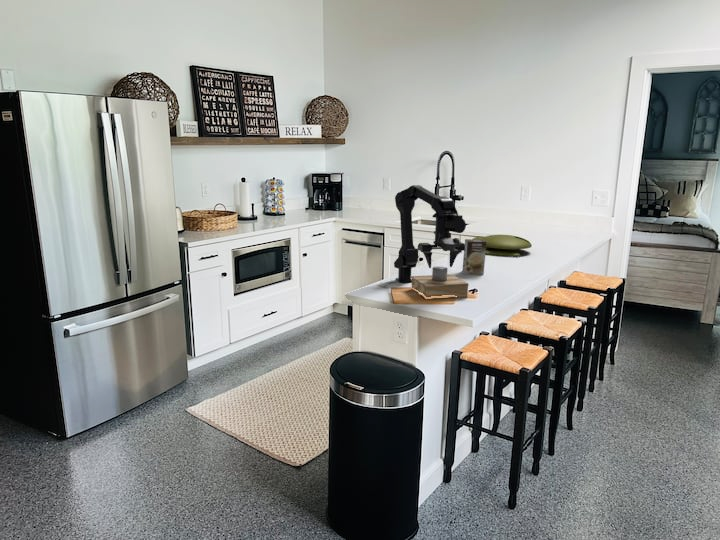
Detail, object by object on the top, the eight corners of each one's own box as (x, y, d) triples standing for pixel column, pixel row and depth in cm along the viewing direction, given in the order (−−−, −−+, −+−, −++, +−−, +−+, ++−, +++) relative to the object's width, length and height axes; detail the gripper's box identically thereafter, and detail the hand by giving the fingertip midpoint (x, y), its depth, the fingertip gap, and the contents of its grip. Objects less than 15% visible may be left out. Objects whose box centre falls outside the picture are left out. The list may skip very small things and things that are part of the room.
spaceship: (467, 254, 302) (468, 237, 300) (472, 245, 331) (473, 229, 329) (531, 259, 293) (532, 241, 290) (530, 249, 321) (532, 233, 319)
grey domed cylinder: (429, 279, 219) (429, 267, 218) (440, 277, 222) (441, 266, 221) (438, 282, 214) (438, 270, 213) (449, 280, 217) (450, 268, 216)
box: (411, 289, 224) (411, 277, 223) (450, 287, 229) (451, 275, 228) (425, 299, 209) (426, 287, 208) (467, 297, 214) (468, 285, 213)
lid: (411, 277, 223) (411, 276, 223) (451, 275, 228) (451, 274, 228) (425, 287, 208) (426, 285, 208) (468, 285, 213) (468, 283, 213)
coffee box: (465, 274, 252) (467, 241, 248) (462, 271, 258) (464, 239, 255) (484, 274, 252) (486, 241, 249) (480, 271, 259) (483, 239, 255)
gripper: (428, 233, 203) (426, 273, 207) (472, 232, 208) (470, 270, 211) (417, 229, 213) (416, 266, 217) (460, 228, 218) (458, 265, 222)
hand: (440, 267), depth 217 cm, fingers open, 9 cm apart
